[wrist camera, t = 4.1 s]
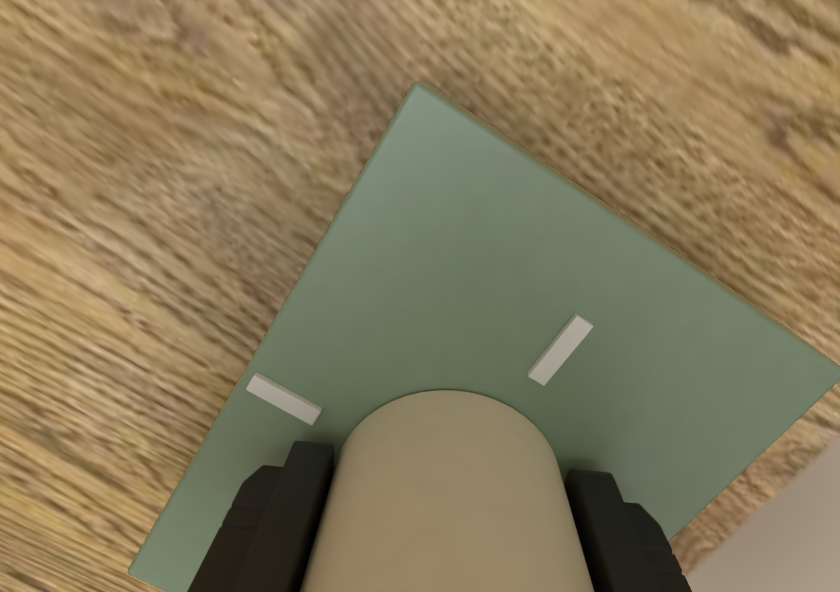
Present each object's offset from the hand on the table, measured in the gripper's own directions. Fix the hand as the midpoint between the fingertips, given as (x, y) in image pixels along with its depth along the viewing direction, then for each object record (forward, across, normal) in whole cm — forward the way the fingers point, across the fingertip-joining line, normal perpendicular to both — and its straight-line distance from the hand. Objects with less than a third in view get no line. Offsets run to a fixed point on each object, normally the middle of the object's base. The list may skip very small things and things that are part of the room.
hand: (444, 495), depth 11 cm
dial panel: (+3, 0, 0) cm, 3 cm away
